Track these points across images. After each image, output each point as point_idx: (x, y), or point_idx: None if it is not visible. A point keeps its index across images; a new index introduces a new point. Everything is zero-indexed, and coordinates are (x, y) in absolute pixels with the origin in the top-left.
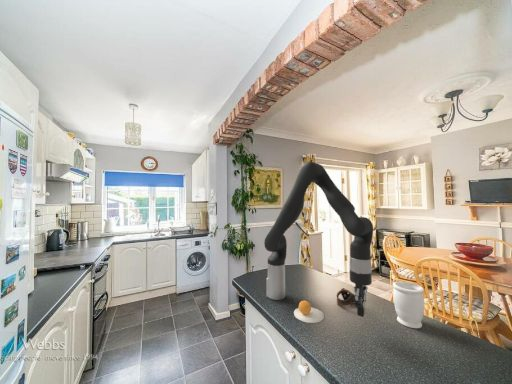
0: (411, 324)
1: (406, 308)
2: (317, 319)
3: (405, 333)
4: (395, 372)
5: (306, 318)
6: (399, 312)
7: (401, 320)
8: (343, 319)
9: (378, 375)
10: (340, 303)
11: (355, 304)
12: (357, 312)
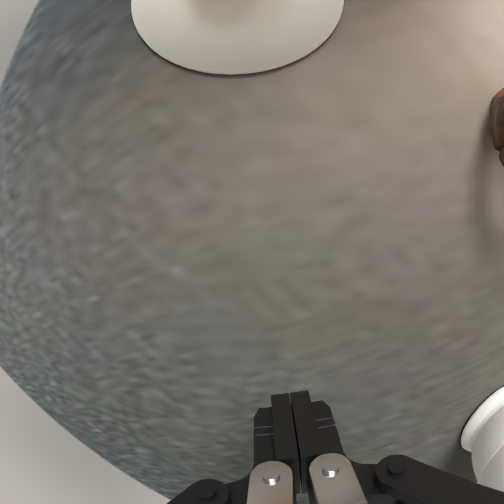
0: (468, 444)
1: (490, 486)
2: (215, 49)
3: (414, 442)
4: (134, 463)
5: (172, 3)
6: (498, 439)
7: (485, 416)
8: (367, 184)
9: (76, 428)
10: (497, 117)
11: (178, 499)
12: (272, 409)
